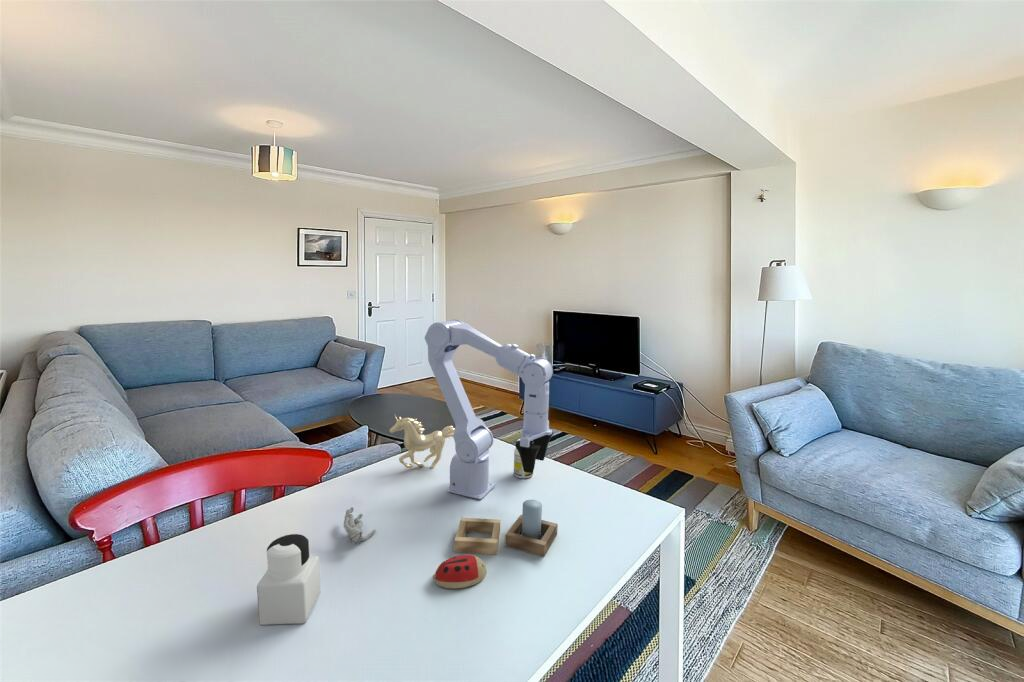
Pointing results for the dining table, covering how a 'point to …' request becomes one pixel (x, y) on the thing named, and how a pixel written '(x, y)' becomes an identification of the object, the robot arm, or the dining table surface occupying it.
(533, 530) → the thick gray cylindrical peg
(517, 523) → the wooden square ring
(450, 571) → the ladybug figurine
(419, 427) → the unicorn
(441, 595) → the dining table surface
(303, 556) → the white blocky bust figurine
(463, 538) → the light wooden square frame
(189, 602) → the dining table surface
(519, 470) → the supplement bottle
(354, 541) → the grey branched piece
